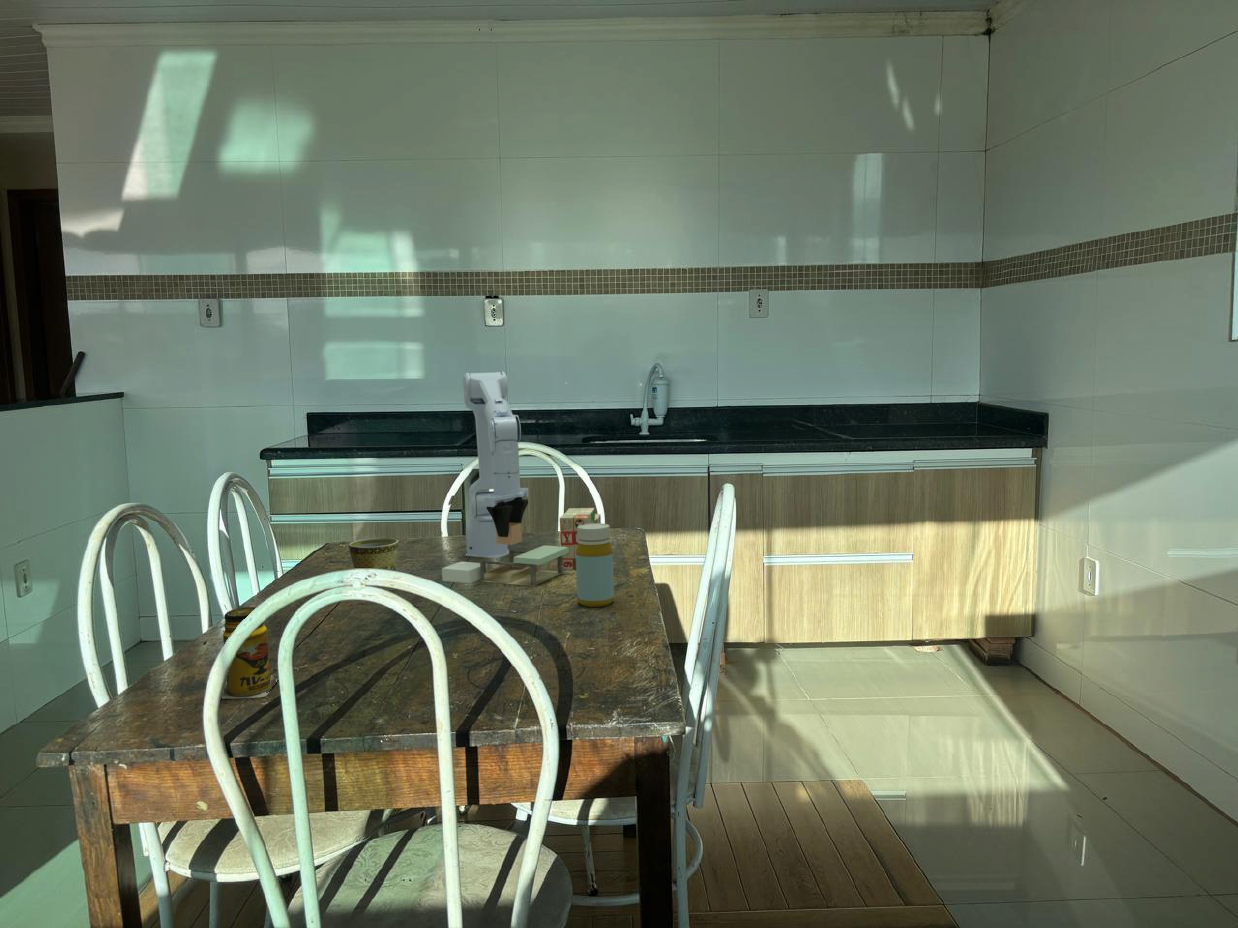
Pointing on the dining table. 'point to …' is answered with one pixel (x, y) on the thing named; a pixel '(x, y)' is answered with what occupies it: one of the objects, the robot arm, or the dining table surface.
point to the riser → (462, 572)
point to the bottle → (594, 565)
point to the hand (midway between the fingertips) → (508, 534)
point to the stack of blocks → (574, 532)
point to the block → (511, 535)
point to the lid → (541, 555)
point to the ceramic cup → (374, 553)
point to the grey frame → (517, 571)
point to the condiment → (247, 660)
